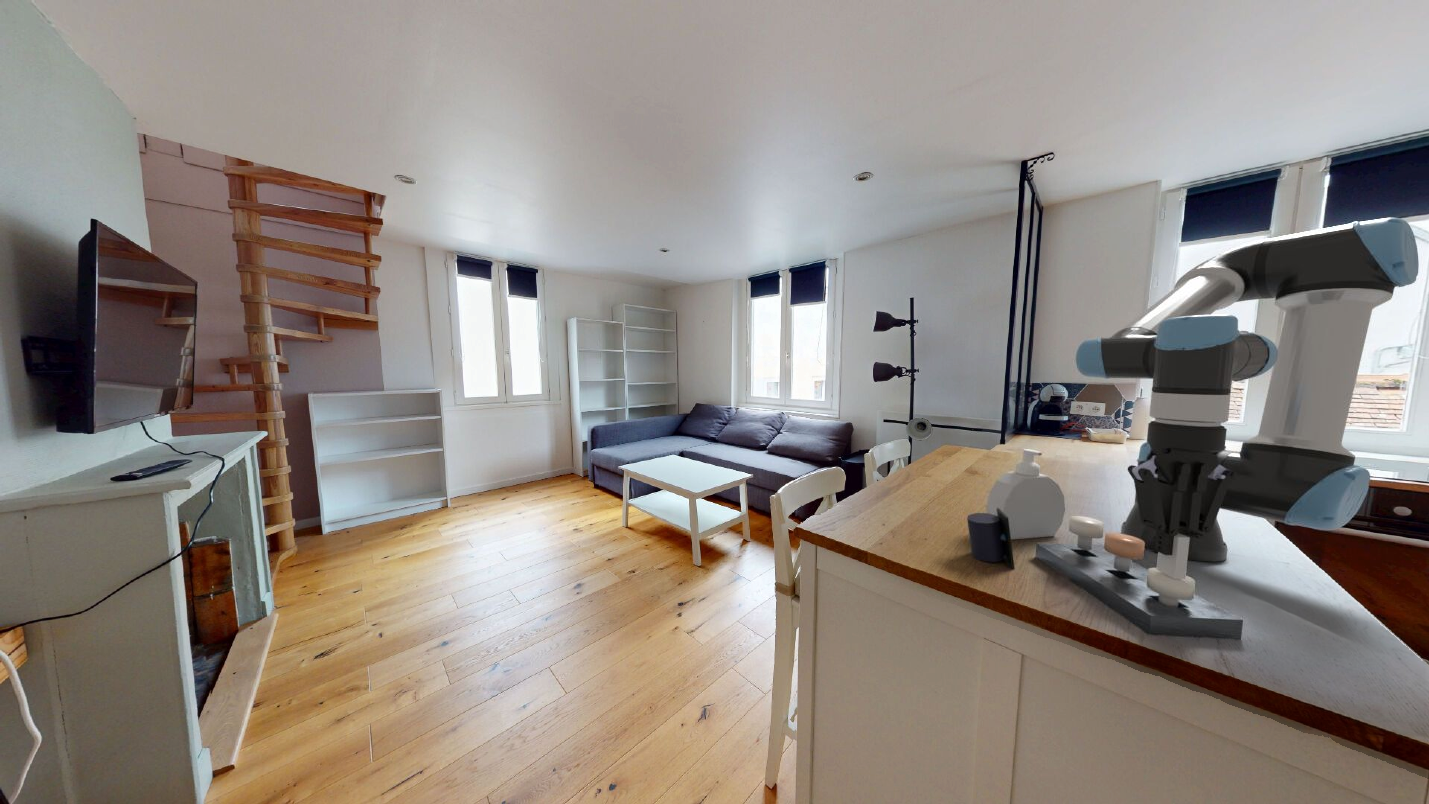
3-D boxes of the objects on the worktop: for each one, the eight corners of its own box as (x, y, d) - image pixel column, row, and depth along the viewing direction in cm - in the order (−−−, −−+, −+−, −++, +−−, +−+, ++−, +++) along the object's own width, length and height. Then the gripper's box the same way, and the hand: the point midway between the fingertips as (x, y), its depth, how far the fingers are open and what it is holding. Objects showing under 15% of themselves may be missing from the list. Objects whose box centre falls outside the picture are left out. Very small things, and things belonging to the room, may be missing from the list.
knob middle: (1124, 562, 72) (1126, 533, 71) (1150, 576, 67) (1153, 545, 67) (1095, 561, 72) (1097, 532, 72) (1119, 575, 68) (1121, 544, 67)
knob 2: (1168, 601, 64) (1172, 568, 64) (1201, 620, 59) (1205, 584, 59) (1135, 599, 65) (1138, 567, 64) (1166, 618, 60) (1169, 583, 59)
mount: (1098, 558, 81) (1100, 544, 81) (1241, 639, 58) (1243, 619, 57) (1035, 556, 83) (1036, 542, 82) (1149, 635, 59) (1150, 615, 58)
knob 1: (1087, 542, 80) (1089, 516, 79) (1108, 554, 75) (1111, 525, 74) (1061, 542, 80) (1063, 515, 80) (1080, 553, 75) (1083, 525, 75)
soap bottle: (1003, 541, 90) (1008, 454, 88) (984, 531, 95) (988, 449, 93) (1065, 536, 92) (1071, 451, 90) (1043, 527, 97) (1049, 446, 95)
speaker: (1016, 557, 82) (1012, 507, 81) (1014, 569, 78) (1010, 518, 77) (972, 550, 87) (968, 503, 86) (968, 561, 83) (964, 512, 82)
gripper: (1207, 418, 62) (1191, 564, 64) (1115, 418, 64) (1103, 560, 66) (1268, 426, 55) (1248, 590, 57) (1163, 425, 56) (1147, 585, 58)
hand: (1170, 574), depth 61 cm, fingers closed
